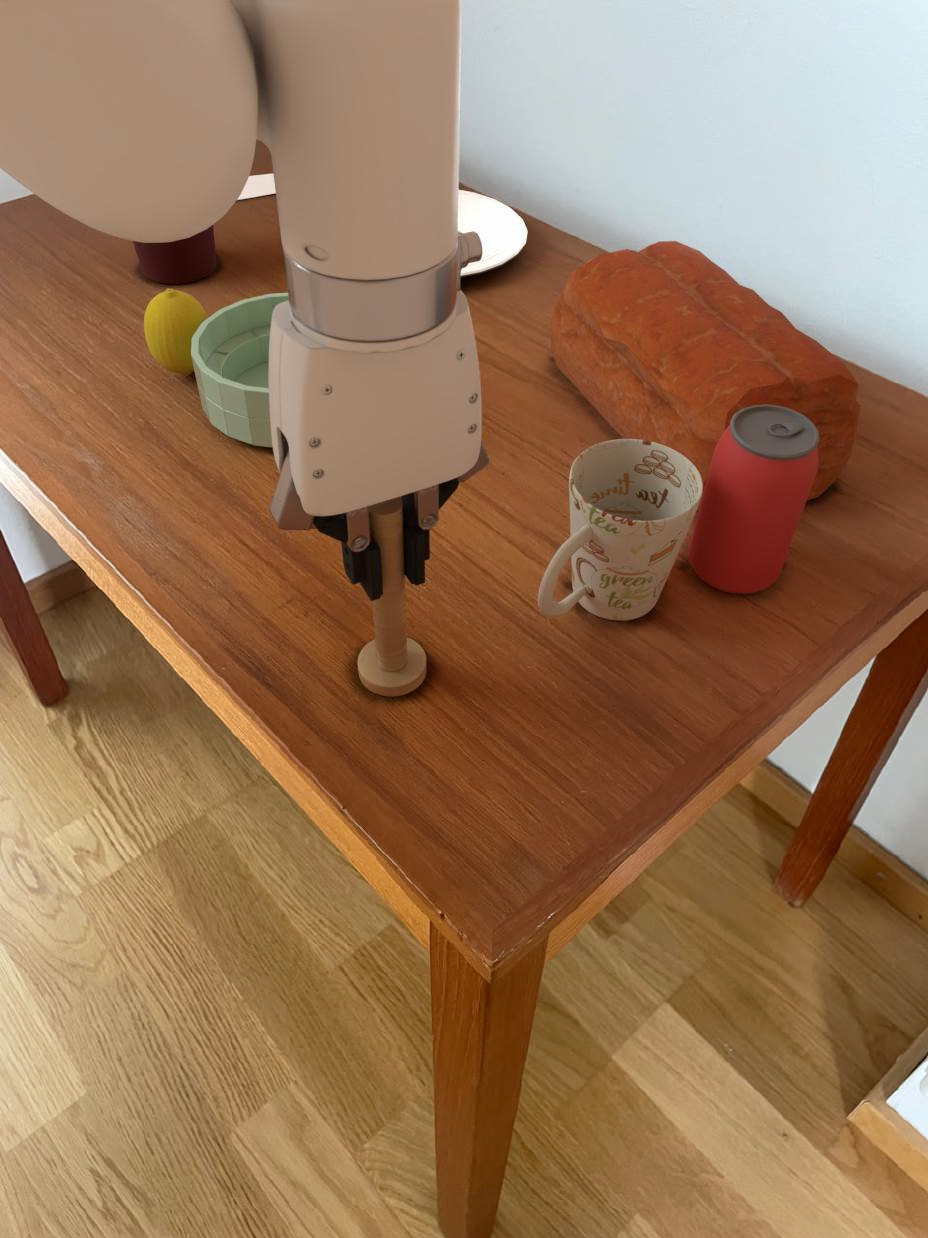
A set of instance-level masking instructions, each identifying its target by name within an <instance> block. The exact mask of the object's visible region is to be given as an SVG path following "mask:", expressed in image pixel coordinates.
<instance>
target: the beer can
mask: <svg viewBox="0 0 928 1238" xmlns="http://www.w3.org/2000/svg"><path fill="white" fill-rule="evenodd" d="M818 443H819V432H818V430H817V429H816V427H815V425H814V424H813V423H812V422H811V421H810V420H809V419H808V418H806V417H805V416H804V415H802V414H800V413H798V412H796V411H794V410H792V409H788V408H785V407H782V406H776V405H767V404H766V405H754V406H750V407H747V408H743V409H741V410H740V411H738V412H737V413H735V414H734V416H733V417H732V419H731V421H730V425H729V426H728V427H727V428H726V430H725V431H724V432H723V434H722V436H721V437H720V439H719V441H718V443H717V445H716V446H715V450H714V453H713V457H712V461H711V465H710V469H709V473H708V477H707V480H706V484H705V488H704V492H703V496H702V500H701V504H700V507H699V511H698V512H697V516H696V519H695V524H694V527H693V531H692V535H691V538H690V543H689V547H688V557H687V558H688V561H689V564H690V566H691V568H692V570H693V572H694V573H695V574H696V575H697V576H698V577H699V578H700V579H701V580H702V581H703V582H704V583H706V584H708V585H709V586H711V587H712V588H714V589H716V590H719V591H722V592H725V593H728V594H729V593H730V594H737V595H744V594H745V595H746V594H747V595H748V594H755V593H759V592H761V591H764V590H766V589H767V588H770V587H771V586H772V585H773V584H774V583H775V582H776V581H777V580H778V578H779V576H780V575H781V572H782V569H783V566H784V564H785V561H786V559H787V555H788V553H789V550H790V547H791V545H792V542H793V539H794V535H795V533H796V531H797V528H798V525H799V523H800V519H801V517H802V514H803V511H804V509H805V506H806V504H807V502H808V500H807V498H808V495H809V492H810V490H811V487H812V484H813V481H814V478H815V476H816V473H817V470H818V461H819V459H818V450H817V445H818Z"/></svg>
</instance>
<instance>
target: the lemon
mask: <svg viewBox="0 0 928 1238" xmlns="http://www.w3.org/2000/svg"><path fill="white" fill-rule="evenodd" d="M143 317H144V318H143V331H144V337H145V343H146V345H147V348H148V350H149V352H150V354H151V356H152V357H153V358H154V360H155V361H156V362H157V363H158V364H159V365H160V366H161V367H162V368H164V369H166V370H167V371H169V372H172V373H176V374H181V375H184V376H186V377H187V376H191V374H192V373H193V372H195V371H194V366H193V361H192V357H191V342H192V337H193V335H194V334H195V332H196V331H197V329H198V328H199V326H200V325H201V323H202V322H203V321H205V320H206V319H207V318H209V316H208V315H207V312H206V311H205V309H204V307H203V304H201V302H200V301H199V300H197V298H195V297H194V296H193V295H191V294H189V293H187V292H184V291H183V290H182V291H181V290H176V289H173V288H166V289H165V290H164V291H162V292H160V293H158V294H157V295H155V296H154V297H152V299H151V300H150V302H148V304H147V307H146V308H145V311H144V316H143Z"/></svg>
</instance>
